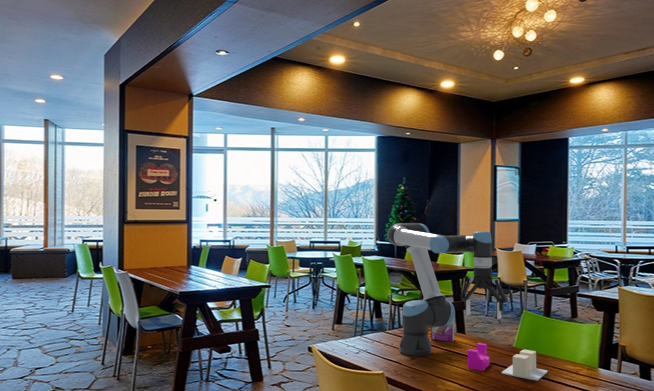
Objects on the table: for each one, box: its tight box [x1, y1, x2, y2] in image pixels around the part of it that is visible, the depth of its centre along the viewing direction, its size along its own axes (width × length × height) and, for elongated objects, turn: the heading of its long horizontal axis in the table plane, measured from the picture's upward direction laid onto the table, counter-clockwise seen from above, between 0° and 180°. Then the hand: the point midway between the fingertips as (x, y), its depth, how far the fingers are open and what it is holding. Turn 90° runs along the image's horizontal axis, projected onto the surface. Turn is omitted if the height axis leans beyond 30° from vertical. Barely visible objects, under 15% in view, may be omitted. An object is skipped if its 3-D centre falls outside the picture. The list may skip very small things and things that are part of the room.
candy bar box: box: [430, 318, 455, 343], centre depth 256 cm, size 11×5×16 cm, turn 66°
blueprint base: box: [501, 349, 549, 381], centre depth 202 cm, size 14×14×8 cm
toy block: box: [467, 342, 491, 371], centre depth 213 cm, size 15×6×8 cm, turn 147°
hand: (483, 316), depth 213 cm, fingers open, 13 cm apart
